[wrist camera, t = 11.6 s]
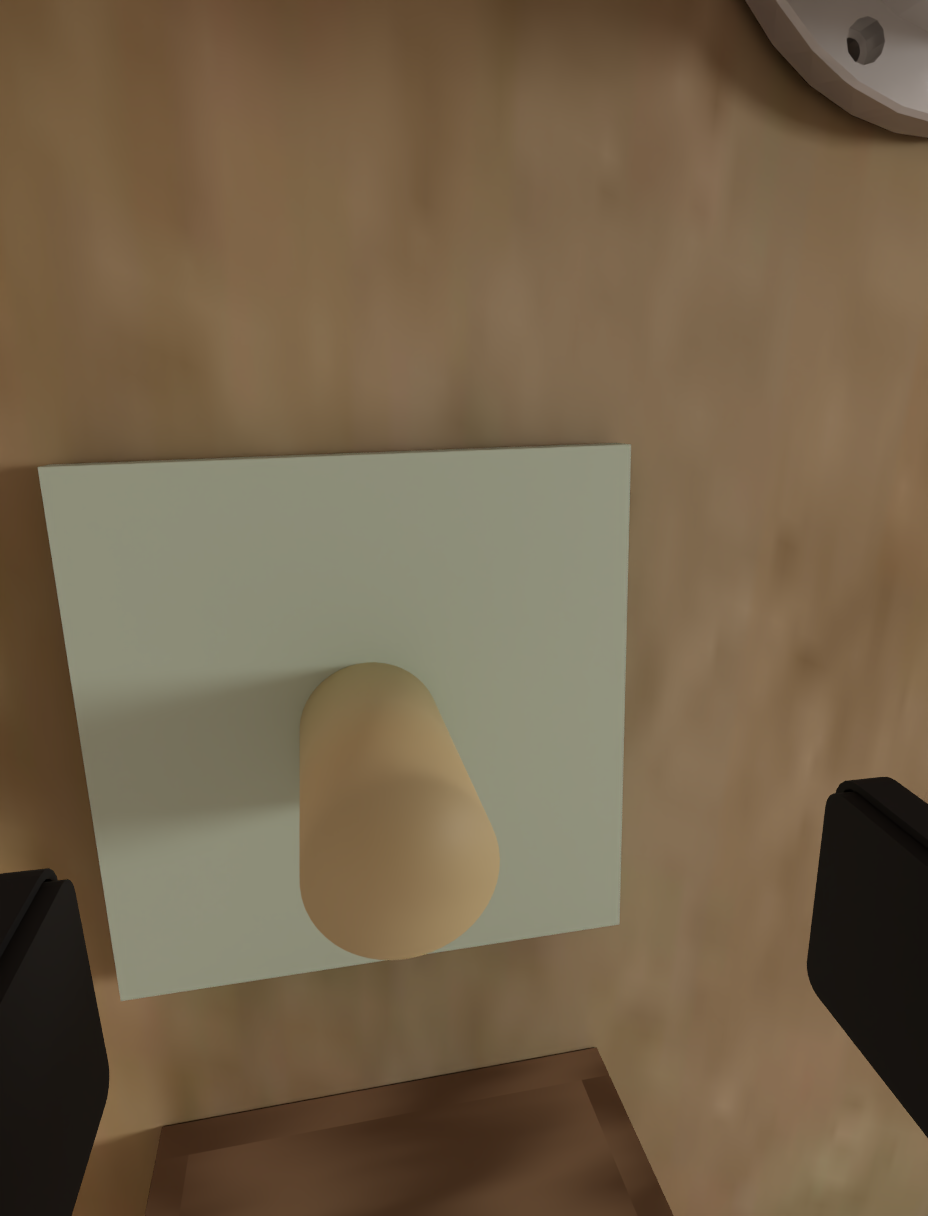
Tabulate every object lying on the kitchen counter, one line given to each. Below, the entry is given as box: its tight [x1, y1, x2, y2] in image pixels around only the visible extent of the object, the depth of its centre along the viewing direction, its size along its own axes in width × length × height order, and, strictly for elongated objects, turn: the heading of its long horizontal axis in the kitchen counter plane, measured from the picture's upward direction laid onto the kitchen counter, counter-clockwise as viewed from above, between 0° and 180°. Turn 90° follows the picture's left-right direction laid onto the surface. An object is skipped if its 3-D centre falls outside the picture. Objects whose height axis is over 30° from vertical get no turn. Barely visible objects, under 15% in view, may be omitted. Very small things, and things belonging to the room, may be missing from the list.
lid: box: [38, 443, 631, 1001], centre depth 16 cm, size 12×12×7 cm
